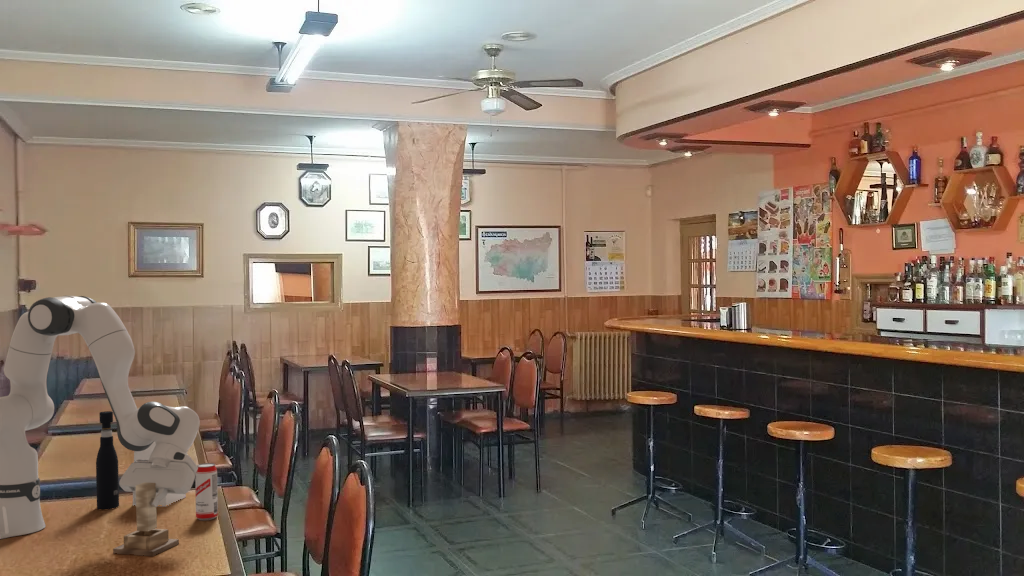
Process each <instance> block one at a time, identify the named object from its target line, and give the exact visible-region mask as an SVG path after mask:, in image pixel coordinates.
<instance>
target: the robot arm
mask: <svg viewBox="0 0 1024 576" xmlns="http://www.w3.org/2000/svg"><path fill="white" fill-rule="evenodd" d="M73 334H79V335H80V336H81V337H82V339H83V340H84V342H85V344H86V346H87V348H88V350H89V352H90V354H91V356H92V359H93V361H94V363H95V366H96V369H97V372H98V375H99V378H100V381H101V386H102V388H103V391H104V393H105V396H106V399H107V401H108V403H109V406H110V408H111V411H112V412H113V417H114V419H115V422H116V433H117V434H116V435H117V438H118V441H119V442H120V444H121V445H122V446H123V447H124V448H125V449H127V450H129V451H131V452H132V451H133V452H134V451H143V450H145V449H147V448H149V447H150V446H151V444H152V443H153V442H155V443H156V446H155V448H154V450H153V452H152V454H151V456H150V458H149V460H137V461H135V462H134V461H133V462H131V463H130V465H129V466H128V468H127V469H126V470H125V471H124V473H123V474H122V475H121V477H120V479H119V487H120V488H121V489H122V490H123V491H124V492H129V493H131V492H132V493H133V492H135V499H134V501H133V500H132V505H133V504H134V505H135V507H136V485H138V484H141V483H144V482H146V483H156V485H155V487H156V493H159V494H158V495H157V496H156V497H155V498H151V501H150V502H149V504H150V505H151V506H152V507H156V508H157V507H159V506H158V504H159V502H160V501H161V500H162V499H164V498H165V497H166V495H167V493H170V494H187V493H189V492H190V491H191V488H192V487H193V484H194V482H195V473H196V472H197V470H198V467H197V465H198V464H196V462H195V461H194V460H193V458H192V457H191V456H190V455H189V454H188V452H189V449H190V448H191V447H192V446H193V443H194V442H195V439H196V438H197V435H198V432H199V429H200V426H201V425H200V424H201V421H200V417H199V415H198V413H197V412H196V411H195V410H194V409H192V408H190V407H188V406H183V405H181V406H176V407H175V406H167V405H165V404H163V403H161V402H157V401H148V402H145V403H143V404H141V406H139V407H138V406H137V405H136V402H135V398H134V397H133V394H132V392H131V389H130V387H129V374H130V370H131V367H132V364H133V362H134V360H135V355H136V349H135V346H134V342H133V339H132V336H131V335H130V333H129V331H128V329H127V328H126V326H125V324H124V323H123V321H122V319H121V318H120V316H119V315H118V313H117V312H116V311H115V309H113V307H112V306H111V305H110V304H108V303H106V302H101V301H96V300H95V299H93V298H90V297H88V296H85V295H83V296H82V295H78V296H76V295H62V296H55V297H45V298H41V299H38V300H36V301H35V302H33V303H32V304H31V306H30V307H29V309H28V311H26V312H24V313H23V314H21V316H20V317H19V319H18V320H17V322H16V325H15V327H14V330H13V333H12V336H11V338H10V342H9V346H8V351H7V354H6V359H5V362H4V366H3V374H4V376H5V377H6V379H8V380H9V382H10V383H9V384H10V391H9V394H8V395H5V396H0V540H2V539H6V538H10V537H16V536H22V535H27V534H32V533H35V532H36V533H37V532H39V531H41V530H43V529H45V528H46V523H45V519H44V517H43V513H42V508H41V502H40V501H41V500H40V498H41V479H40V477H39V461H38V460H39V455H38V451H37V450H36V449H35V448H34V447H32V446H31V445H30V443H29V442H28V439H27V435H26V431H29V430H30V431H31V430H33V429H37V428H39V427H40V426H43V425H44V424H46V423H48V422H49V421H50V420H51V419H52V417H53V416H54V413H55V404H54V401H53V399H52V398H51V397H50V396H49V394H48V387H47V380H48V379H47V377H48V371H49V367H50V362H51V359H52V355H53V350H54V345H55V342H56V339H57V338H58V336H69V335H73ZM134 505H133V506H134Z"/></svg>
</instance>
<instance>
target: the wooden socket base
mask: <svg viewBox="0 0 1024 576" xmlns="http://www.w3.org/2000/svg"><path fill="white" fill-rule="evenodd" d="M169 536H170V535H169V529H167V528H155V529H153V530H150V531H137V530H134V531H132V532H130V533H128V534H125V535H123V544H121V545H119V546H116V547H114V548H113V549H112V553H113V554H115V553H117V554H120V555H129V554H134V555H133V556H143V555H144V557H145V556H146V557H155V556H157V555H159V554H161V553H163V552H165V551H167V550H169V549H171V548H173V547H175V546H177V545H179V542H180V540H179V539H178V538H170V537H169ZM158 553H159V554H158ZM156 554H157V555H156ZM154 555H155V556H154Z"/></svg>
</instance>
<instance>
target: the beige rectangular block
mask: <svg viewBox="0 0 1024 576" xmlns="http://www.w3.org/2000/svg"><path fill="white" fill-rule="evenodd" d="M155 485H156V483H146V482H144V483H141V484H138V485H136V506H135V508H136V513H135V514H136V531H150V530H153V529H158V528H157V527H158V526H157V525H158V524H157V522H158V521H157V507H152V506H151V505H150V504H149V502H150V501H151V498H155V497H156V487H155Z"/></svg>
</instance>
